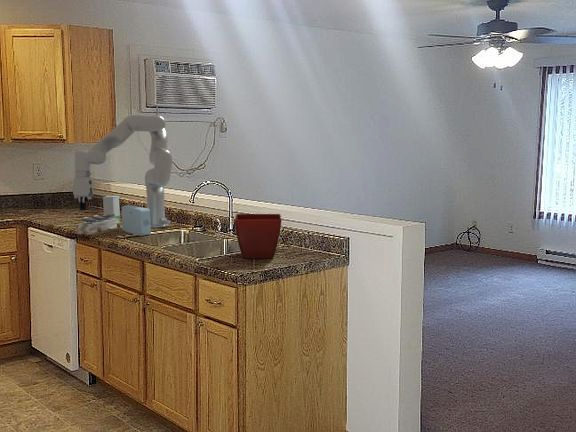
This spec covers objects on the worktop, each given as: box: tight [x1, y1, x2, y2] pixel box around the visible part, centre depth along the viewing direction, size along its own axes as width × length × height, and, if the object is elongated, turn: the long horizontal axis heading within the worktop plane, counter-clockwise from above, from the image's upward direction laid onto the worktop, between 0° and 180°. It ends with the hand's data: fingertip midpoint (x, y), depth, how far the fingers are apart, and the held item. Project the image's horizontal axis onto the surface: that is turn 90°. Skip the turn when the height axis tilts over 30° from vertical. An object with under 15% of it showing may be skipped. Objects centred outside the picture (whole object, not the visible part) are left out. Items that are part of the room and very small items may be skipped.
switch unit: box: [74, 218, 123, 236], centre depth 364 cm, size 14×26×5 cm, turn 156°
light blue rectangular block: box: [121, 204, 152, 237], centre depth 356 cm, size 23×6×13 cm, turn 37°
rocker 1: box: [81, 216, 96, 223], centre depth 357 cm, size 6×4×2 cm, turn 66°
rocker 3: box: [101, 214, 115, 219], centre depth 371 cm, size 6×4×2 cm, turn 66°
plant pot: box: [234, 213, 282, 259], centre depth 291 cm, size 19×19×17 cm
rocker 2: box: [91, 214, 106, 221], centre depth 364 cm, size 6×4×2 cm, turn 66°
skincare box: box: [102, 195, 121, 223], centre depth 390 cm, size 8×7×16 cm
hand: (83, 209), depth 357 cm, fingers closed
